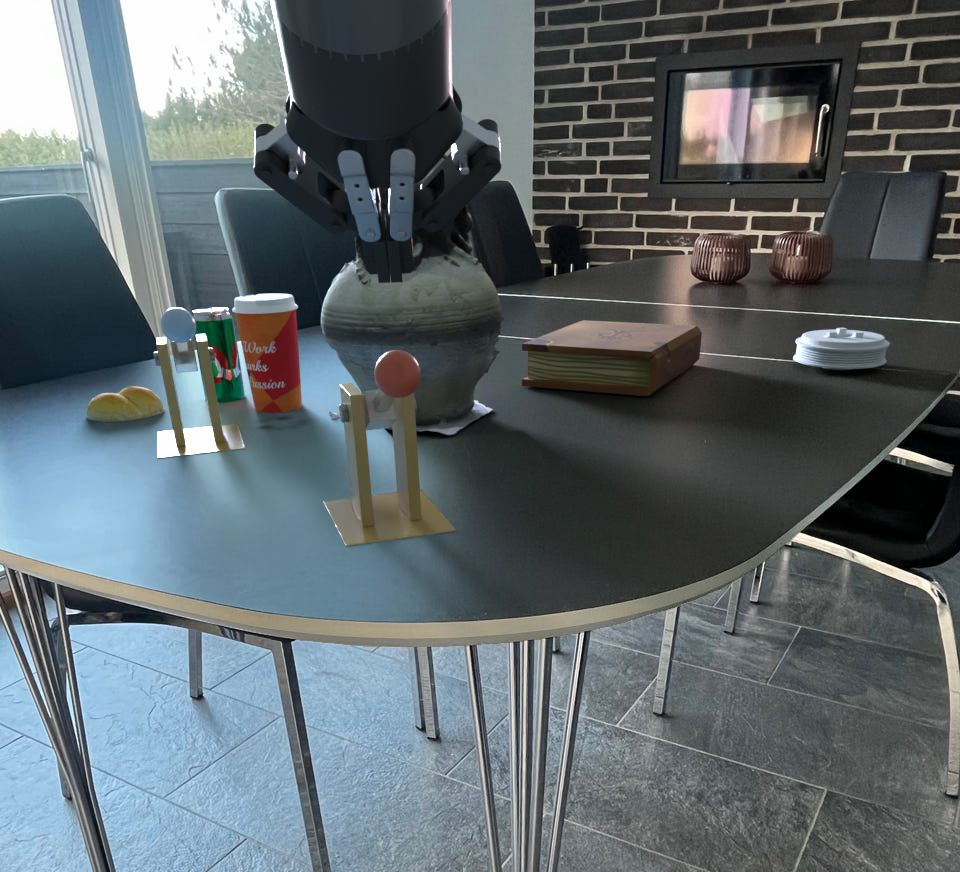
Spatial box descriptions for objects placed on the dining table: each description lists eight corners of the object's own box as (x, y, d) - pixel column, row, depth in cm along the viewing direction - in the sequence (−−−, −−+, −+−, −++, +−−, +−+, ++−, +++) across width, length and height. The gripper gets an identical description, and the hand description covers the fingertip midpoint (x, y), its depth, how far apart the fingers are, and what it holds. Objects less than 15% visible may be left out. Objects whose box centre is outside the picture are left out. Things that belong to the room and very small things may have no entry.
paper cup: (236, 417, 108) (217, 298, 101) (286, 405, 113) (271, 291, 106) (273, 427, 103) (255, 303, 97) (324, 414, 108) (310, 295, 102)
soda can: (233, 400, 116) (218, 305, 111) (253, 405, 113) (239, 308, 108) (199, 407, 113) (182, 310, 108) (219, 413, 110) (202, 313, 104)
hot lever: (428, 388, 59) (420, 341, 59) (382, 392, 58) (374, 345, 58) (398, 432, 70) (391, 393, 70) (359, 436, 69) (352, 396, 69)
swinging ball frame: (457, 543, 70) (451, 396, 64) (346, 560, 67) (330, 408, 62) (422, 501, 79) (414, 368, 73) (324, 514, 77) (308, 378, 71)
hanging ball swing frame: (247, 459, 92) (229, 344, 86) (159, 469, 90) (134, 351, 84) (239, 433, 101) (222, 328, 96) (159, 442, 99) (137, 334, 93)
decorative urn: (298, 431, 101) (253, 77, 85) (381, 391, 119) (358, 91, 102) (464, 446, 94) (451, 63, 78) (526, 401, 112) (527, 80, 95)
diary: (654, 398, 111) (657, 352, 109) (521, 387, 119) (521, 343, 116) (698, 365, 129) (702, 324, 127) (581, 357, 137) (582, 318, 134)
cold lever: (198, 334, 81) (191, 300, 81) (162, 337, 80) (156, 303, 80) (203, 374, 93) (198, 345, 92) (172, 377, 92) (167, 347, 92)
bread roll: (79, 423, 107) (71, 390, 106) (148, 410, 113) (142, 378, 111) (105, 435, 102) (97, 401, 100) (177, 420, 107) (170, 388, 105)
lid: (845, 355, 133) (850, 321, 130) (904, 370, 122) (912, 334, 120) (774, 362, 130) (779, 327, 127) (829, 379, 119) (836, 341, 117)
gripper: (192, 51, 34) (279, 328, 51) (527, 44, 34) (504, 320, 51) (198, -88, 36) (280, 222, 53) (514, -92, 37) (496, 216, 53)
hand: (391, 270), depth 52 cm, fingers closed
